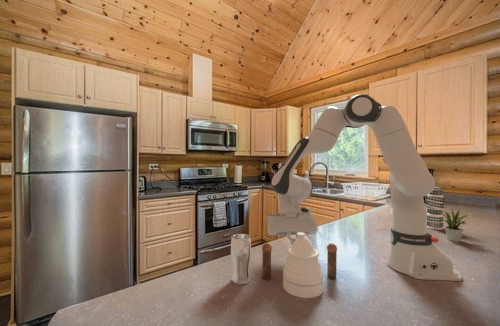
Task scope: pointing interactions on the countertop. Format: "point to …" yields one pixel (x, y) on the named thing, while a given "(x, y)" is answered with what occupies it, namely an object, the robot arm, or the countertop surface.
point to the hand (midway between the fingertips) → (294, 244)
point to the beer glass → (241, 258)
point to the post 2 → (331, 261)
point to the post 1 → (266, 262)
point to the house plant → (454, 226)
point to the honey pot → (303, 269)
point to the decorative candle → (435, 209)
